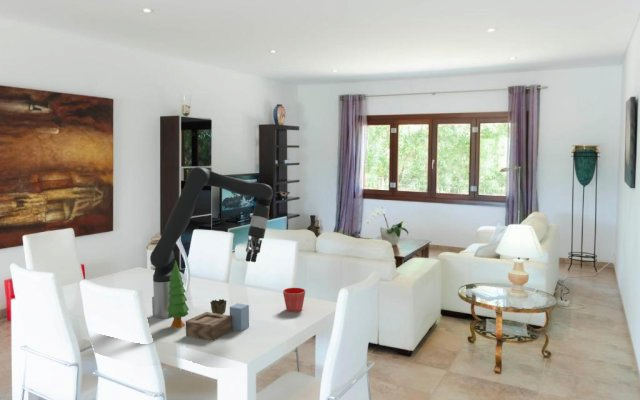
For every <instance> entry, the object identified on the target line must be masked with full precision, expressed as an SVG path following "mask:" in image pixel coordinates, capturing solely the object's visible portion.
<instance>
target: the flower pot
mask: <svg viewBox="0 0 640 400" xmlns="http://www.w3.org/2000/svg"><path fill="white" fill-rule="evenodd" d="M282 294H283V300H284V304H285V309H286V311H288V312H293V313H294V312H296V313H297V312H301V311H302V310H303V306H304V302H305V295H306V290H305V288H301V287H289V288H288V287H287V288H285V289H283V290H282Z"/></svg>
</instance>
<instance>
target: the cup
mask: <svg viewBox="0 0 640 400" xmlns="http://www.w3.org/2000/svg"><path fill="white" fill-rule="evenodd" d="M226 309H227V300H225V299H223V298H222V299H221V298H219V299H218V300H217V299H212V300H210V310H211V313H216V314H223V315H225V312H226V311H227V310H226Z"/></svg>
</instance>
